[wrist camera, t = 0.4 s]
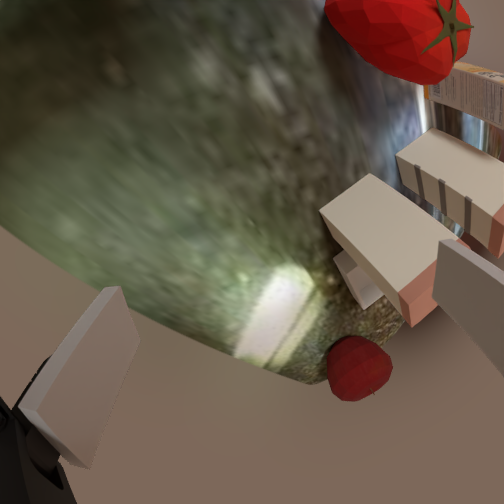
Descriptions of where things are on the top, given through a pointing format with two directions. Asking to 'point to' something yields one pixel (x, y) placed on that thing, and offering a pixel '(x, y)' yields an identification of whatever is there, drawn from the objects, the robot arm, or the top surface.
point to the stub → (389, 242)
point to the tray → (357, 280)
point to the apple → (357, 368)
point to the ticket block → (458, 184)
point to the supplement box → (471, 92)
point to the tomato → (404, 35)
